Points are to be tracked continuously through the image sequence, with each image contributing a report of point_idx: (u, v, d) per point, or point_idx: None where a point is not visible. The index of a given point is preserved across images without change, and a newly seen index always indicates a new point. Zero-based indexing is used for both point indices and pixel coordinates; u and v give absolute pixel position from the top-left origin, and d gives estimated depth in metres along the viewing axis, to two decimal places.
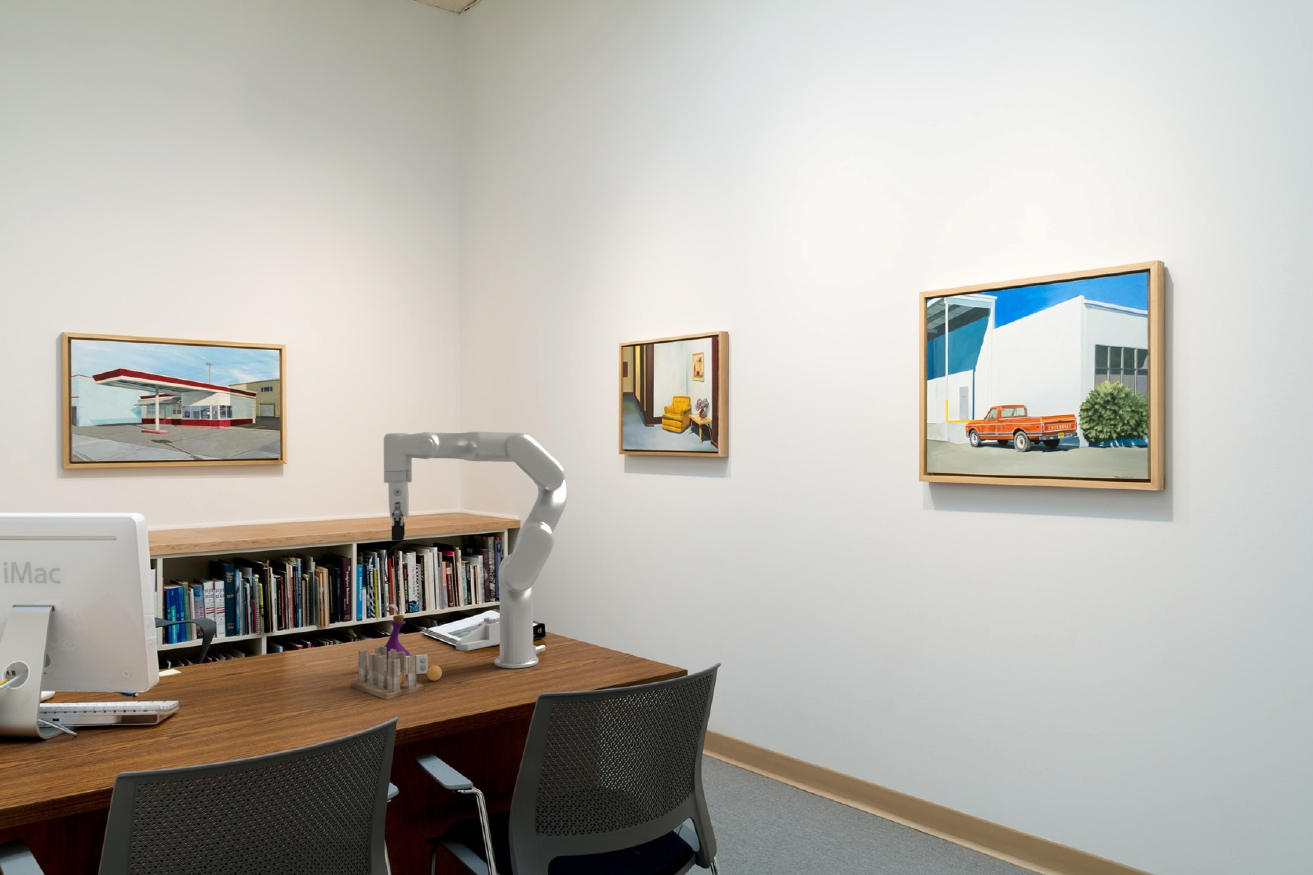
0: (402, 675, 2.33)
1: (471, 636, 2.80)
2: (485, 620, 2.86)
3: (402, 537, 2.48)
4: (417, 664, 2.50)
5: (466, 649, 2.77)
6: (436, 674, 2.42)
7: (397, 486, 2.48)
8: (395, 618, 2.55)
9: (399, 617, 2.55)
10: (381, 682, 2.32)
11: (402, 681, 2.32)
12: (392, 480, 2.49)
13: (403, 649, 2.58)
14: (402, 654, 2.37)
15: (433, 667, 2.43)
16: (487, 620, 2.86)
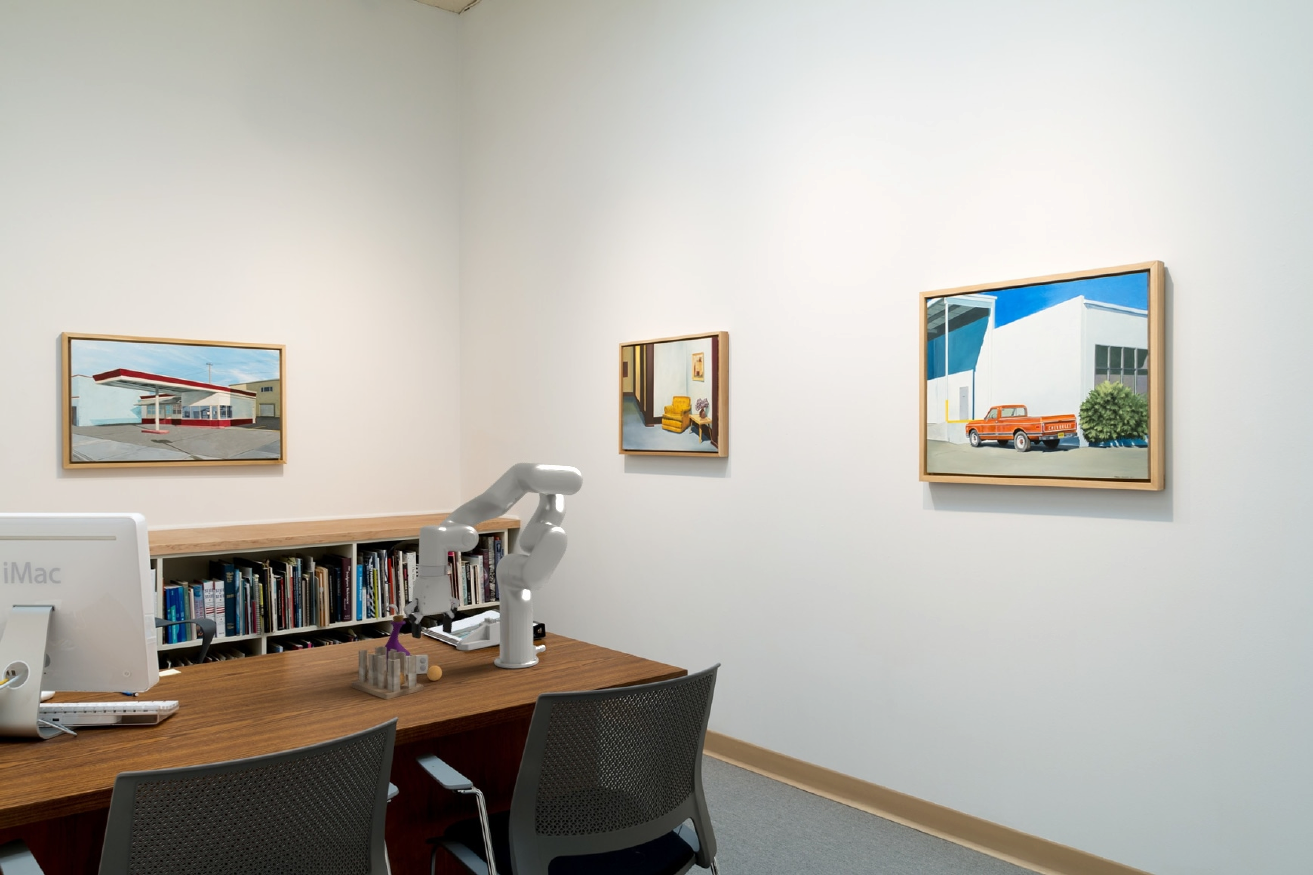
0: (402, 675, 2.33)
1: (472, 636, 2.80)
2: (486, 620, 2.86)
3: None
4: (417, 664, 2.50)
5: (467, 649, 2.77)
6: (436, 674, 2.42)
7: None
8: (395, 618, 2.55)
9: (399, 617, 2.55)
10: (381, 682, 2.32)
11: (402, 681, 2.32)
12: None
13: (403, 649, 2.58)
14: (402, 654, 2.37)
15: (433, 667, 2.43)
16: (488, 620, 2.86)
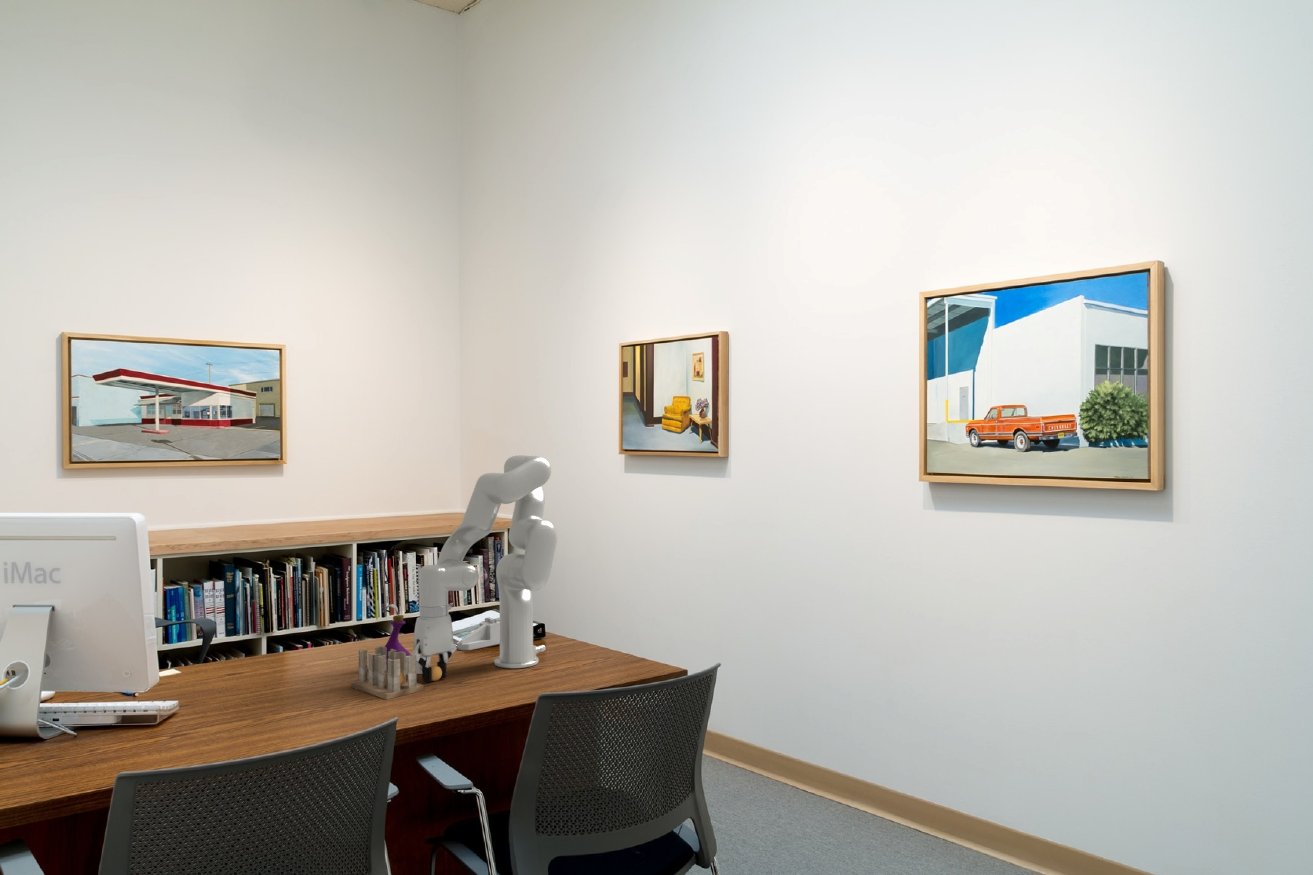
0: (402, 675, 2.33)
1: (472, 636, 2.80)
2: (486, 620, 2.86)
3: None
4: (417, 664, 2.50)
5: (467, 649, 2.77)
6: (436, 674, 2.42)
7: None
8: (395, 618, 2.55)
9: (399, 617, 2.55)
10: (381, 682, 2.32)
11: (402, 681, 2.32)
12: None
13: (403, 649, 2.58)
14: (402, 654, 2.37)
15: (433, 667, 2.43)
16: (488, 620, 2.86)
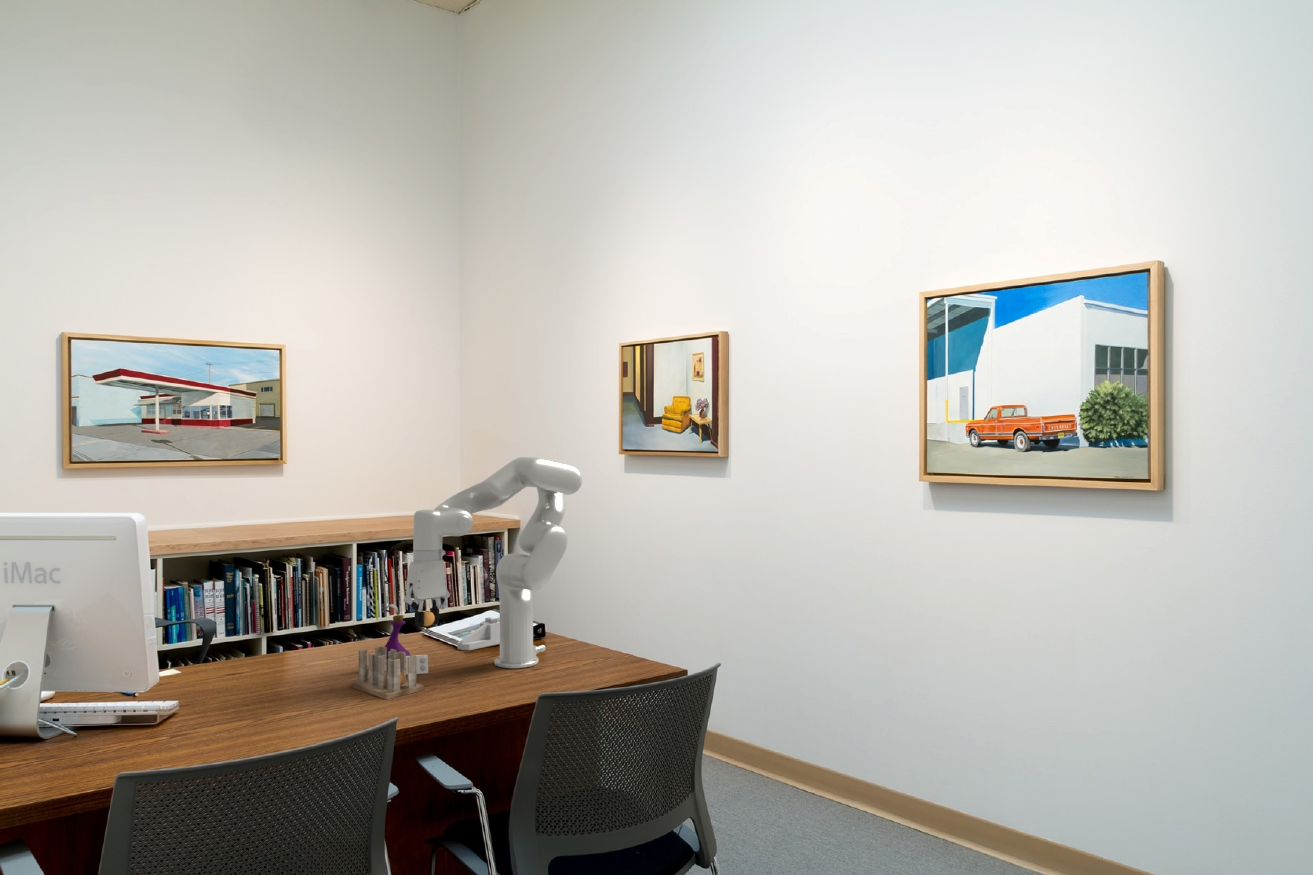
0: (402, 675, 2.33)
1: (472, 636, 2.80)
2: (486, 620, 2.86)
3: None
4: (417, 664, 2.50)
5: (467, 649, 2.77)
6: (429, 619, 2.40)
7: None
8: (395, 618, 2.55)
9: (399, 617, 2.55)
10: (381, 682, 2.32)
11: (402, 681, 2.32)
12: None
13: (403, 649, 2.58)
14: (402, 654, 2.37)
15: (426, 612, 2.41)
16: (488, 620, 2.86)
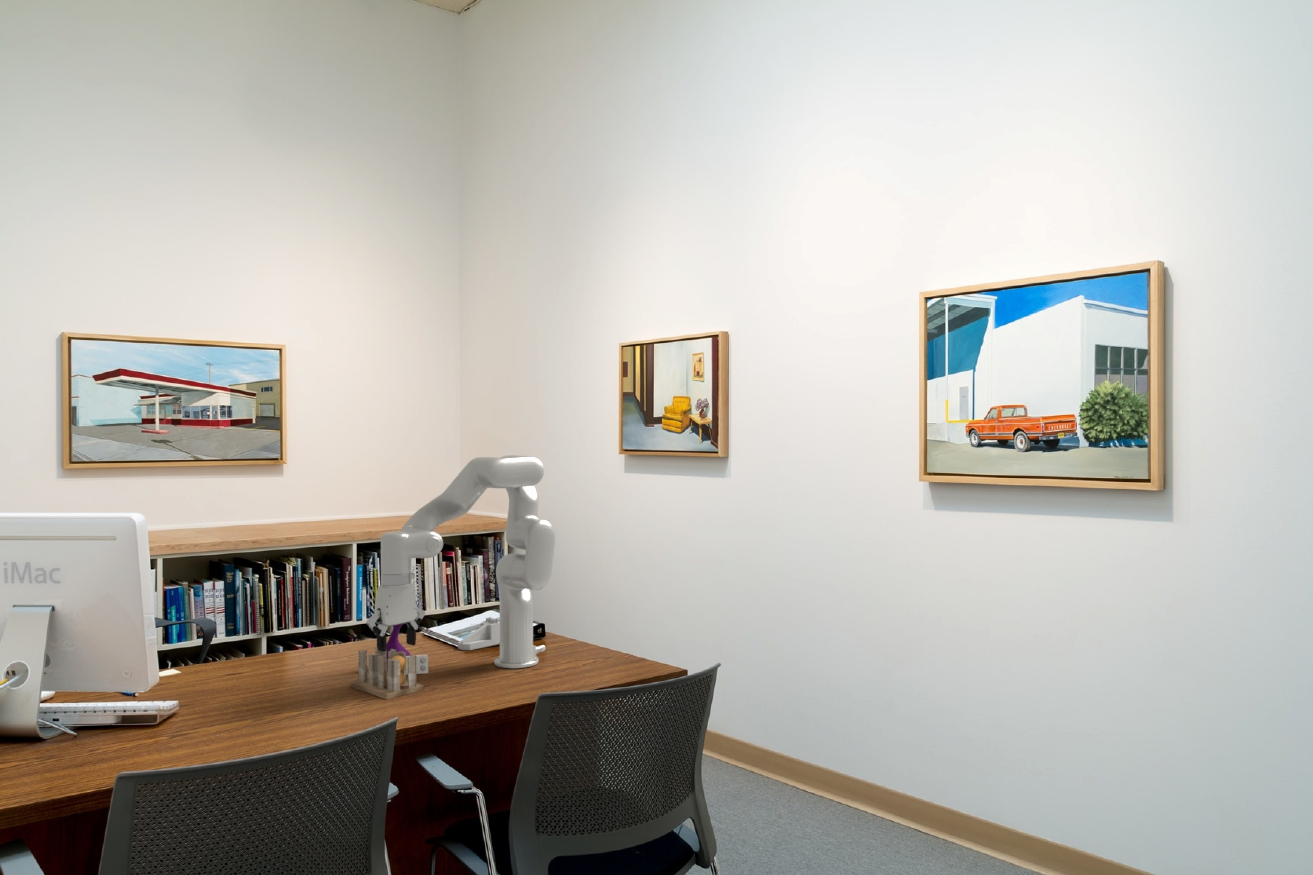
0: (402, 675, 2.32)
1: (473, 636, 2.80)
2: (487, 620, 2.87)
3: None
4: (417, 664, 2.50)
5: (468, 649, 2.77)
6: (400, 661, 2.32)
7: None
8: None
9: None
10: (381, 682, 2.32)
11: (402, 681, 2.32)
12: (410, 581, 2.35)
13: (403, 649, 2.58)
14: (402, 654, 2.37)
15: None
16: (489, 620, 2.86)
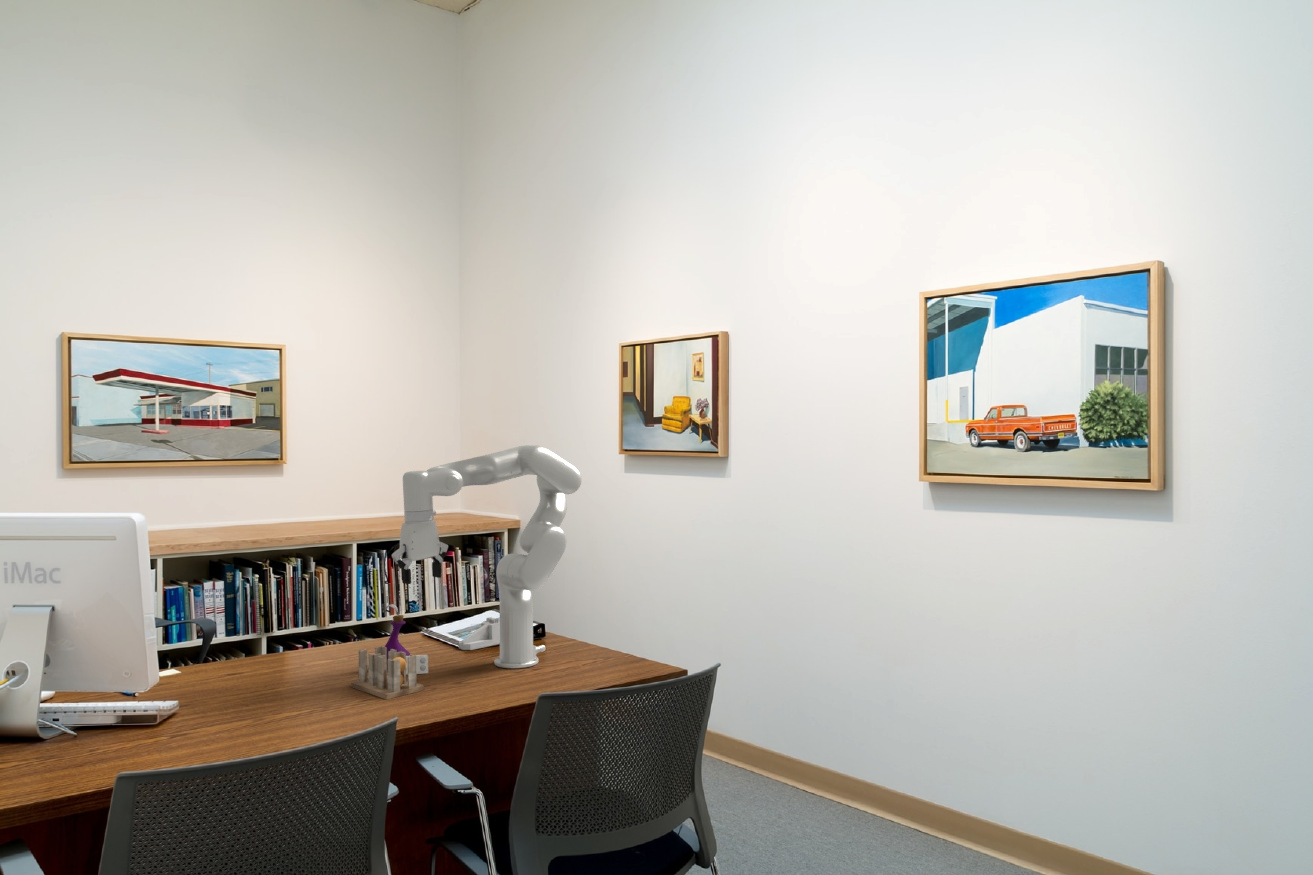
0: (400, 677, 2.32)
1: (474, 636, 2.80)
2: (488, 620, 2.87)
3: None
4: (417, 664, 2.50)
5: (469, 649, 2.77)
6: (402, 658, 2.34)
7: None
8: (395, 618, 2.55)
9: (399, 617, 2.55)
10: (381, 682, 2.32)
11: (401, 682, 2.32)
12: None
13: (403, 649, 2.58)
14: (402, 654, 2.37)
15: None
16: (490, 620, 2.86)
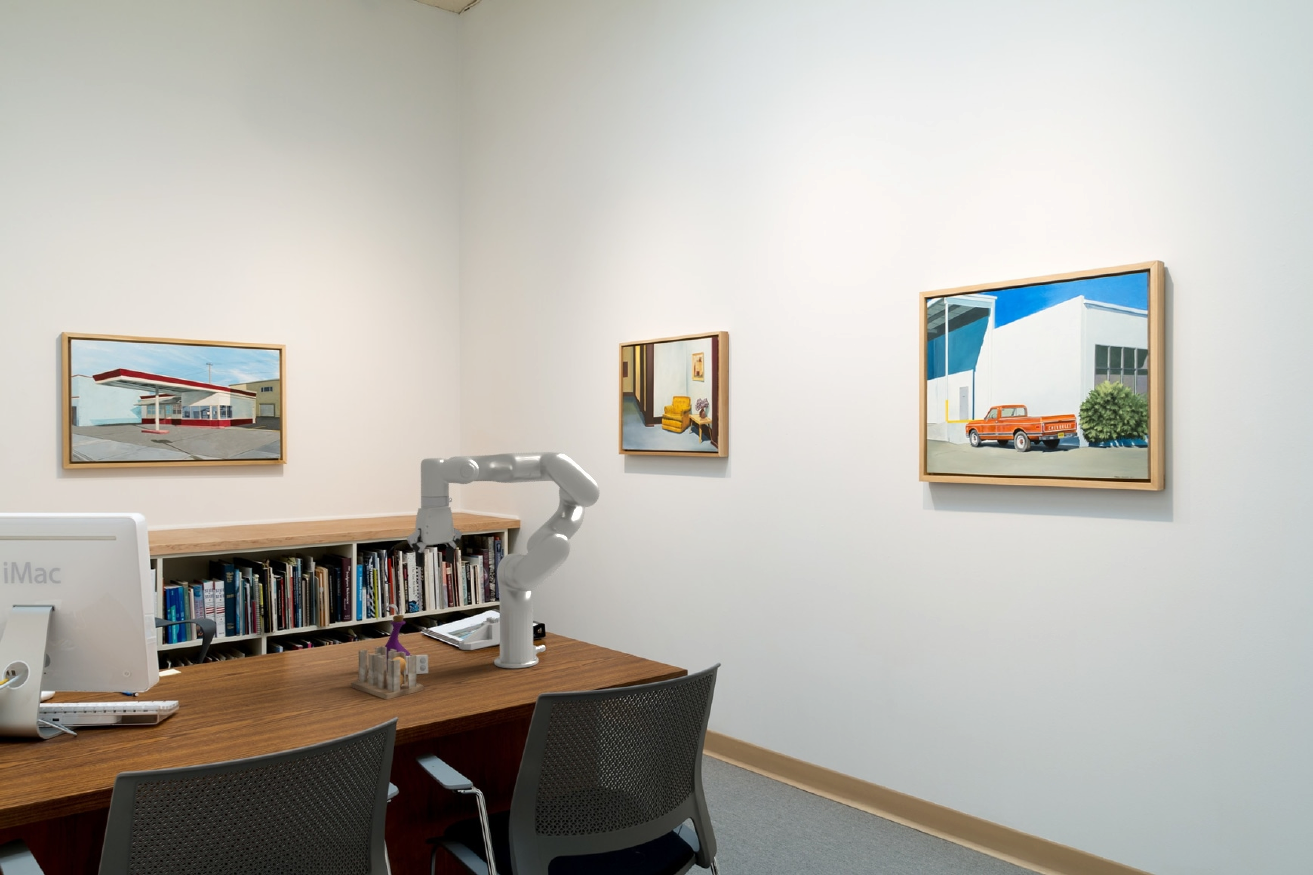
0: (400, 677, 2.32)
1: (474, 636, 2.81)
2: (488, 620, 2.87)
3: None
4: (417, 664, 2.50)
5: (469, 649, 2.77)
6: (402, 658, 2.34)
7: None
8: (395, 618, 2.55)
9: (399, 617, 2.55)
10: (381, 682, 2.32)
11: (401, 682, 2.32)
12: None
13: (403, 649, 2.58)
14: (402, 654, 2.37)
15: None
16: (490, 620, 2.87)
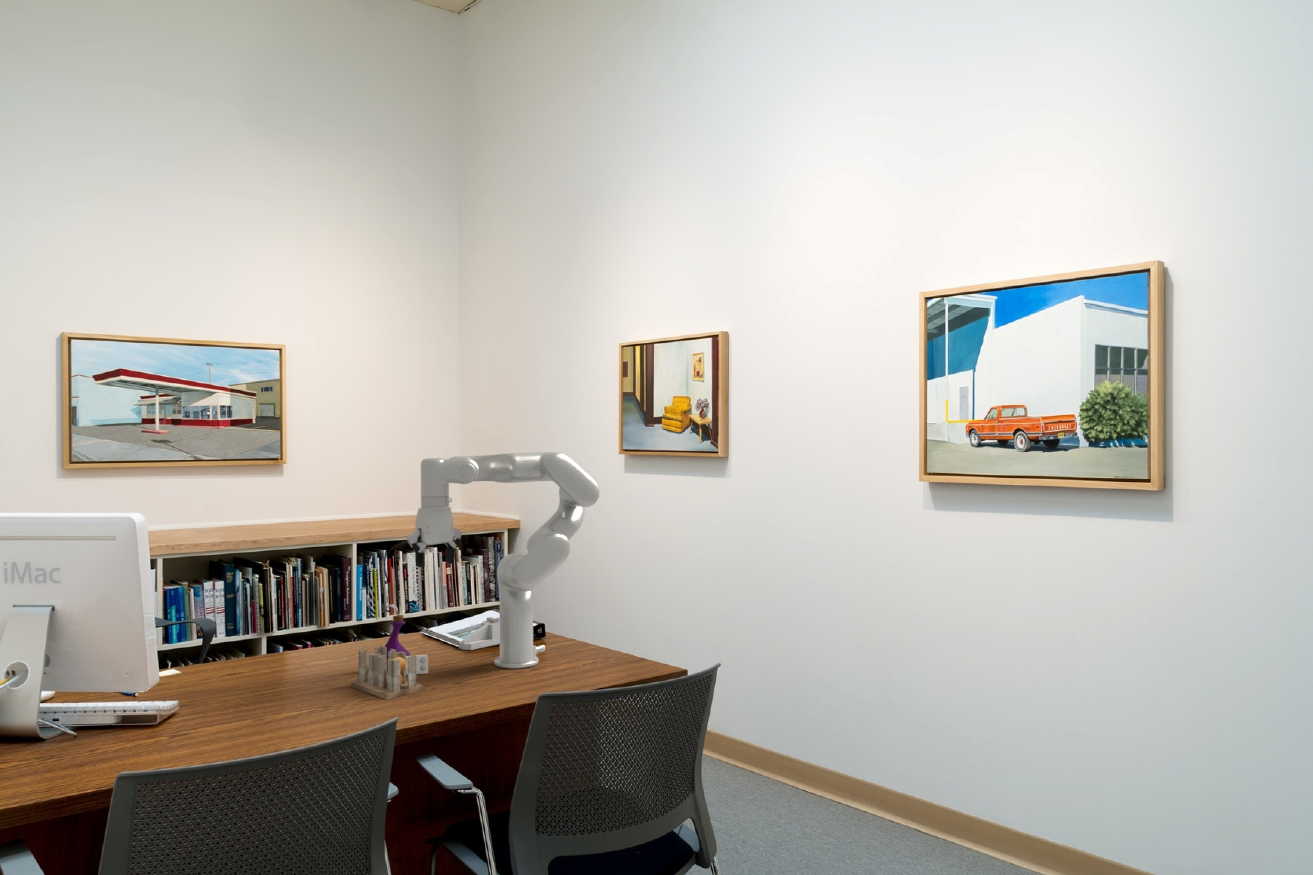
0: (400, 677, 2.32)
1: (474, 636, 2.81)
2: (488, 620, 2.87)
3: None
4: (417, 664, 2.50)
5: (469, 648, 2.78)
6: (402, 658, 2.34)
7: None
8: (395, 618, 2.55)
9: (399, 617, 2.55)
10: (381, 682, 2.32)
11: (401, 682, 2.32)
12: None
13: (403, 649, 2.58)
14: (402, 654, 2.37)
15: None
16: (490, 620, 2.87)
